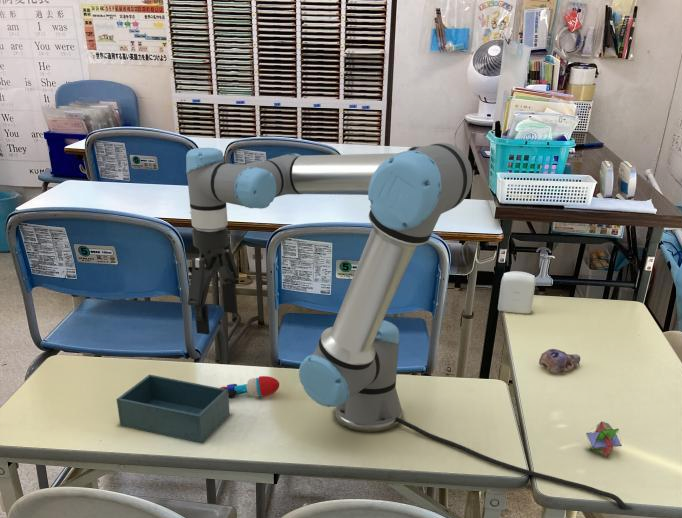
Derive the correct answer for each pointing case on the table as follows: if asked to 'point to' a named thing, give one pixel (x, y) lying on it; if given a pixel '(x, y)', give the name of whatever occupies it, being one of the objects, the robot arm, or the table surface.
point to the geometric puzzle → (604, 438)
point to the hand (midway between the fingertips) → (217, 322)
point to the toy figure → (254, 387)
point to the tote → (174, 408)
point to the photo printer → (516, 292)
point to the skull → (558, 361)
